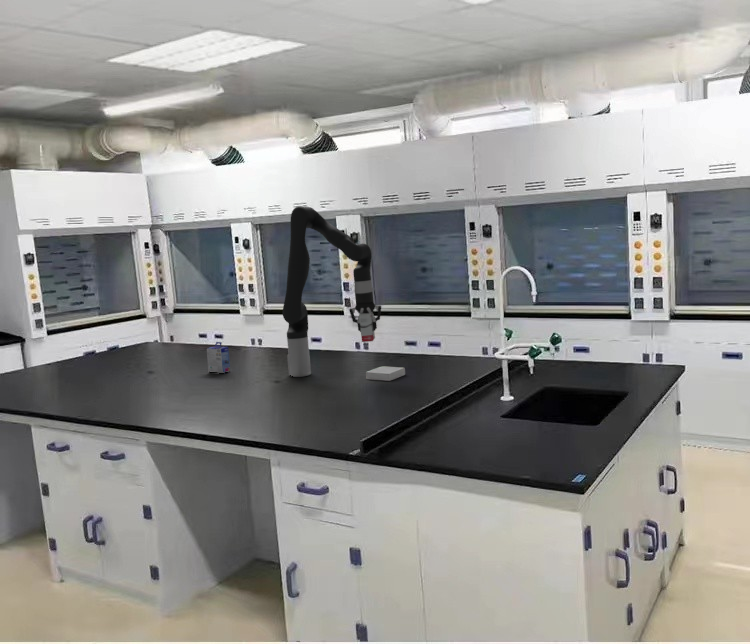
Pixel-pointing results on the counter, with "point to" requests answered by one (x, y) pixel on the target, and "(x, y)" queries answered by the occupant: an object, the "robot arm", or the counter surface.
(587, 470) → the counter surface
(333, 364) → the counter surface
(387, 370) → the stand
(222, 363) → the ink cartridge box
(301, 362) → the robot arm
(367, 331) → the ink box
